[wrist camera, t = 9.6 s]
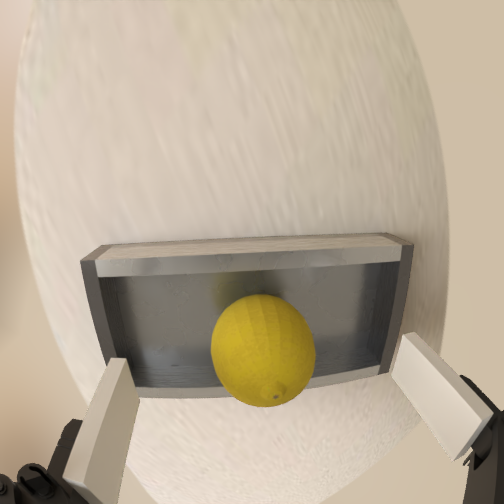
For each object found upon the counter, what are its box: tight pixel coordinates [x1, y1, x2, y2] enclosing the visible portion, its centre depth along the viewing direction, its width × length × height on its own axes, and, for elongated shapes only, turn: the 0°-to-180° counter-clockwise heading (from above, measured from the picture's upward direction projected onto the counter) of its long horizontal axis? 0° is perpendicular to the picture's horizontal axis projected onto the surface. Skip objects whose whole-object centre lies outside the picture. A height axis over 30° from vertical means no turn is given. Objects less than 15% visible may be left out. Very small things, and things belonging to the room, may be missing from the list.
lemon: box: [211, 294, 316, 407], centre depth 15 cm, size 6×6×8 cm
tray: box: [80, 233, 414, 398], centre depth 18 cm, size 10×20×4 cm, turn 91°
